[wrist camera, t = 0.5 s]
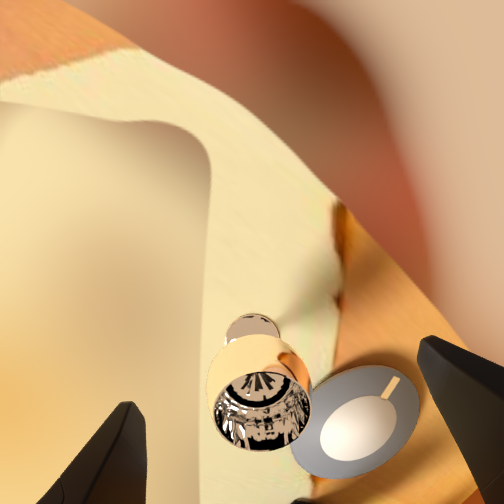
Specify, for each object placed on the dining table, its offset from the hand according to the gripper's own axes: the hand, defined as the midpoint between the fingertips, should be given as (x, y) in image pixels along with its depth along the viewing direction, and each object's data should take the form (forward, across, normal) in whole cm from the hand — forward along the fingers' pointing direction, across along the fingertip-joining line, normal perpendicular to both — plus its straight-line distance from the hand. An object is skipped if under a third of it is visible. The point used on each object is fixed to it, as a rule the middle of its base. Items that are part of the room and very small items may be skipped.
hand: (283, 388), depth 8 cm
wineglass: (+14, +1, +10) cm, 17 cm away
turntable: (+10, -7, +20) cm, 23 cm away
